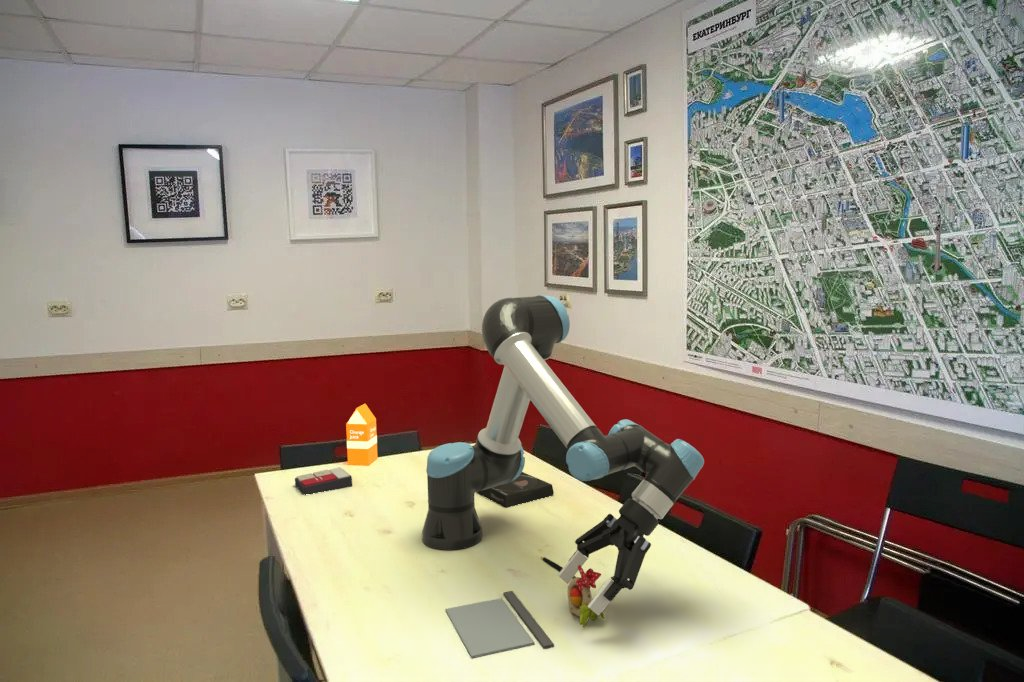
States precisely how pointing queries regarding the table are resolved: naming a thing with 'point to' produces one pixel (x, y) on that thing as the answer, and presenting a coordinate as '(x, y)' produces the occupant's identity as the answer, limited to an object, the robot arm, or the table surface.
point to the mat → (495, 626)
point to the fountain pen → (553, 564)
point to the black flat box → (518, 491)
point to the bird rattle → (583, 595)
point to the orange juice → (361, 437)
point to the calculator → (323, 481)
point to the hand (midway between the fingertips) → (576, 594)
